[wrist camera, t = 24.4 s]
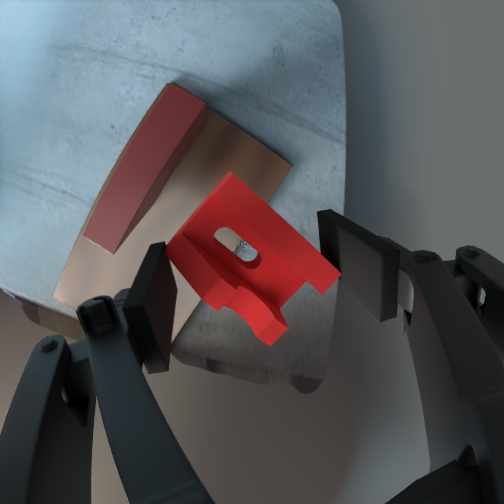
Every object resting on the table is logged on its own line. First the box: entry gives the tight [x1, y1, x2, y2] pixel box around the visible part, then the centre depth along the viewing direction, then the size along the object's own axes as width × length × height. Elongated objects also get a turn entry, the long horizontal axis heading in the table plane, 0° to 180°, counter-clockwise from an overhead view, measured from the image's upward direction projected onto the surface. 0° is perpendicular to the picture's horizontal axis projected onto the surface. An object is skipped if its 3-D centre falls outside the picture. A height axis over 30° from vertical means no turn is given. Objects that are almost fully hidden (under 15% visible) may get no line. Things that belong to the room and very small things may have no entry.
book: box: [83, 82, 207, 255], centre depth 25 cm, size 2×11×16 cm, turn 145°
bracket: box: [164, 171, 341, 346], centre depth 15 cm, size 6×5×3 cm
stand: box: [54, 83, 293, 343], centre depth 36 cm, size 17×30×1 cm, turn 145°
